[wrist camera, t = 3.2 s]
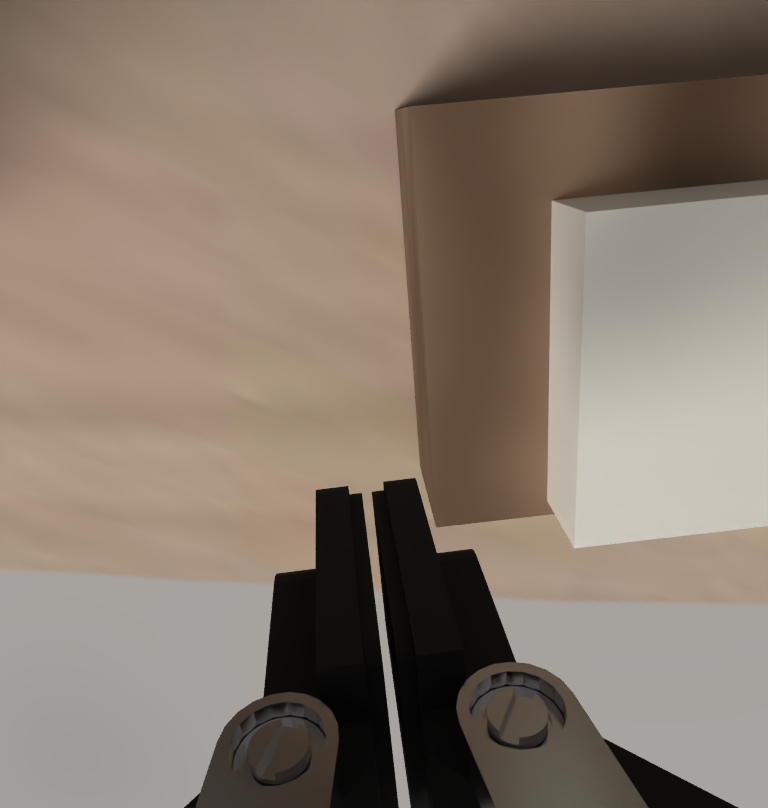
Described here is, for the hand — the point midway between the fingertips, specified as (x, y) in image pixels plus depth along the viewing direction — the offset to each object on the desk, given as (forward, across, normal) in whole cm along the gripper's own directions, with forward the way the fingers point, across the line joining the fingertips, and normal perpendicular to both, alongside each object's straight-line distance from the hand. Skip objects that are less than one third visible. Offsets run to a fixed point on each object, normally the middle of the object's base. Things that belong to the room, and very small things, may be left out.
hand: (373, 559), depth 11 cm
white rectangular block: (+7, -9, 0) cm, 11 cm away
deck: (+12, -10, -1) cm, 16 cm away
